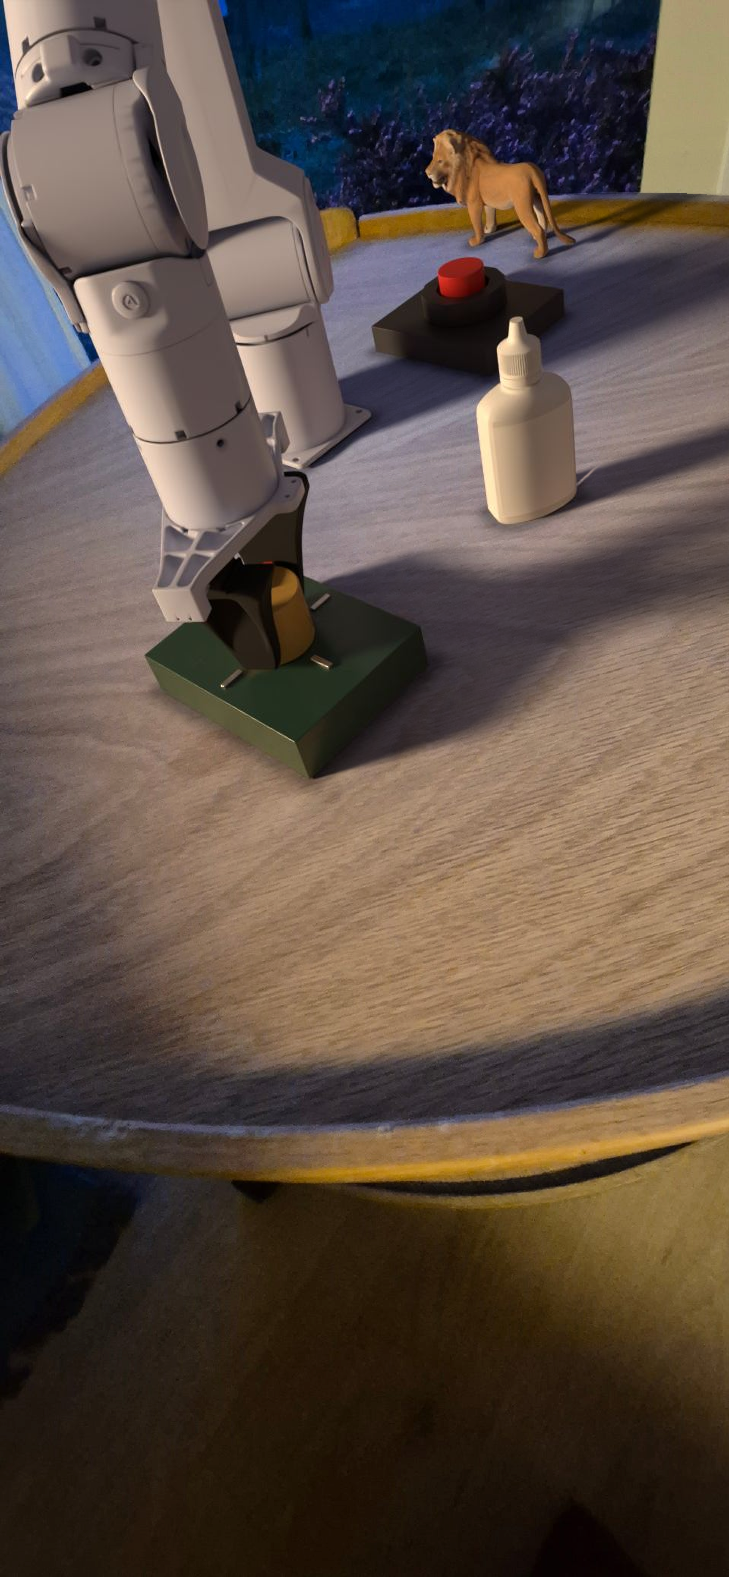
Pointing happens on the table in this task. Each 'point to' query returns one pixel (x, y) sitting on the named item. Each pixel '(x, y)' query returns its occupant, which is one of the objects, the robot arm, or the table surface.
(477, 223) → the lion figurine
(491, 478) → the eye dropper bottle
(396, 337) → the button box
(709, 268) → the table surface
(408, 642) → the control panel
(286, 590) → the dial knob
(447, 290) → the red button
